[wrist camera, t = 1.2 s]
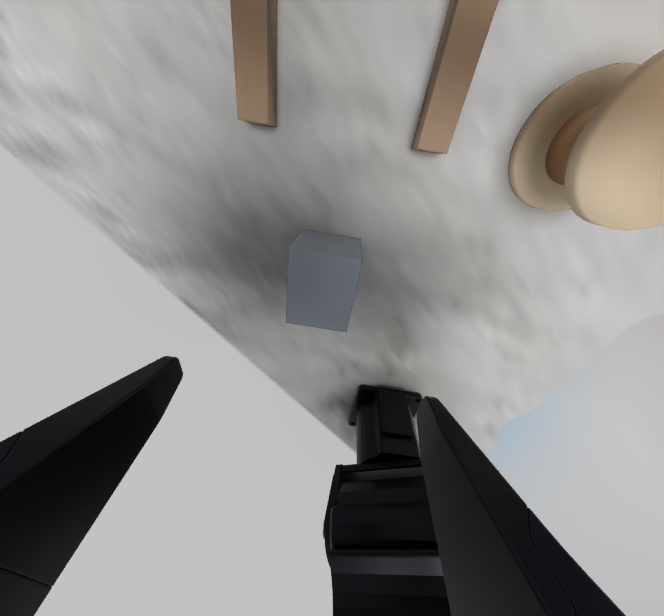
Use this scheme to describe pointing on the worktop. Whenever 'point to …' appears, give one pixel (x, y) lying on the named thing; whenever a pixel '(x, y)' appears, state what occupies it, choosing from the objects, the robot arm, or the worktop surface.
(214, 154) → the worktop surface
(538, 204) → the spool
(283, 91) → the worktop surface
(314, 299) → the blue-grey block
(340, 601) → the robot arm
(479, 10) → the notched board
